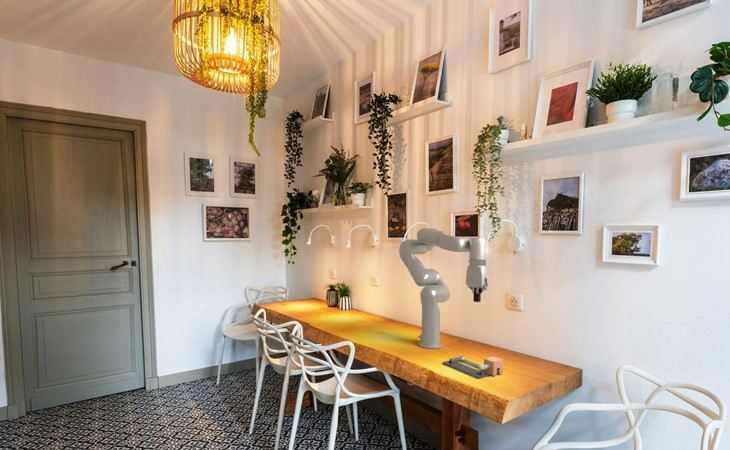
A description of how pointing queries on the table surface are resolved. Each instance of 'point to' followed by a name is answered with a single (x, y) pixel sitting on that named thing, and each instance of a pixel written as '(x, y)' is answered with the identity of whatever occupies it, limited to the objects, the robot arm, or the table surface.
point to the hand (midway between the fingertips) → (477, 301)
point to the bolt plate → (466, 369)
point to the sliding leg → (492, 366)
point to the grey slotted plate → (464, 361)
